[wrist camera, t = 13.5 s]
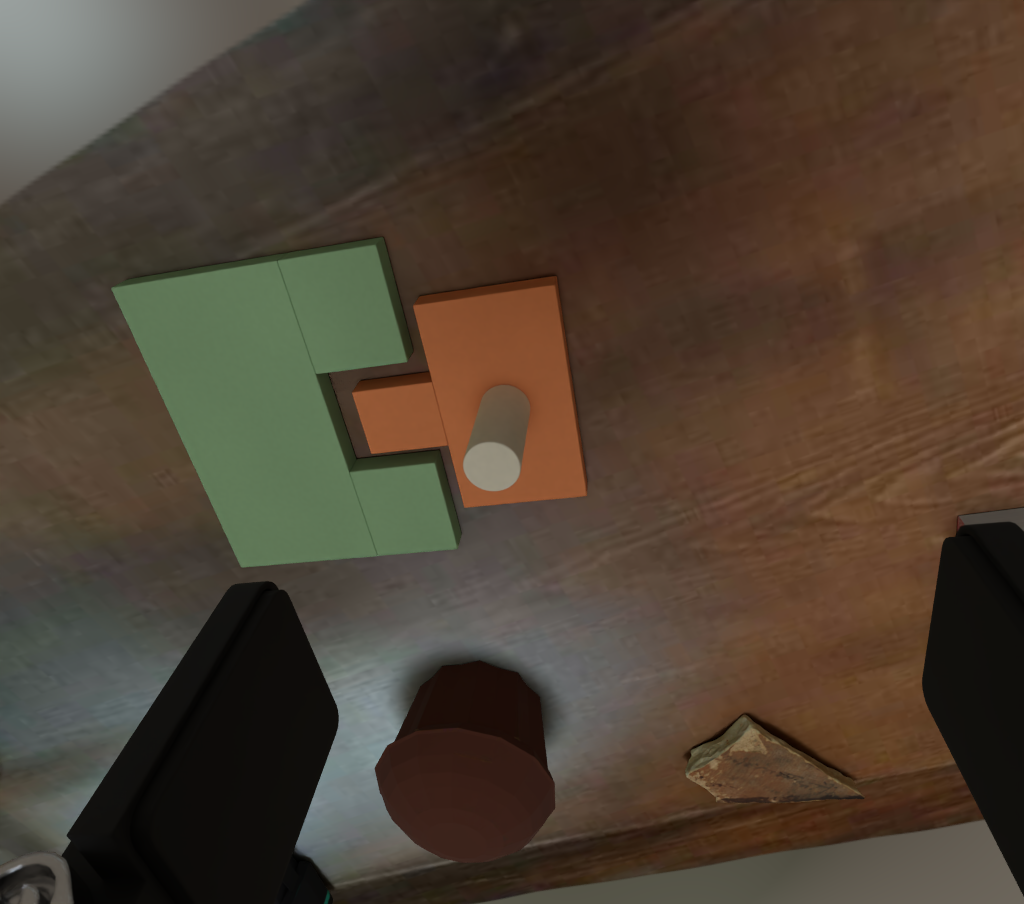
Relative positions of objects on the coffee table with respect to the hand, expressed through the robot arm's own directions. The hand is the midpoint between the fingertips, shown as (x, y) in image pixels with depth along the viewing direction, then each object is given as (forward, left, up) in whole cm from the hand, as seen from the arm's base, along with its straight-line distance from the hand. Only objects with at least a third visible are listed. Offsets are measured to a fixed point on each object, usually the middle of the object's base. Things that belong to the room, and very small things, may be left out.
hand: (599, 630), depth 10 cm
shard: (+38, +8, -26) cm, 47 cm away
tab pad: (+8, -8, -26) cm, 29 cm away
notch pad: (+8, -17, -26) cm, 32 cm away
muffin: (+32, -12, -26) cm, 43 cm away
